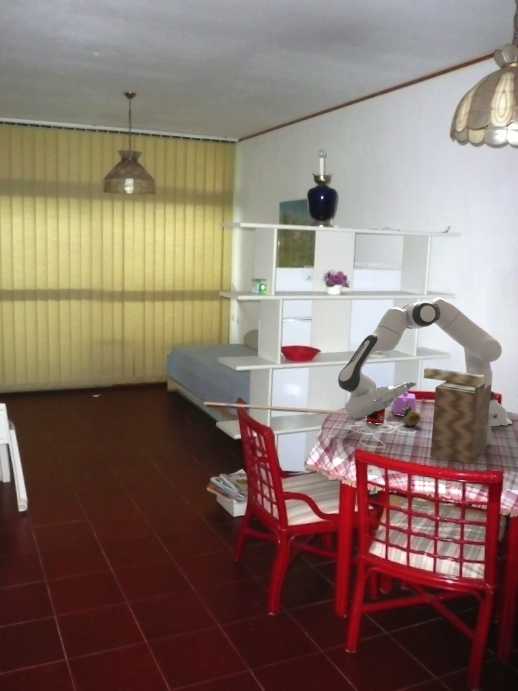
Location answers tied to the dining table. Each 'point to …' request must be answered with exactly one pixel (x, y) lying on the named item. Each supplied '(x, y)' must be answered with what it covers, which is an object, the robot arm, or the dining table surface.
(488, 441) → the salt shaker
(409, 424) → the onion
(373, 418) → the canned food
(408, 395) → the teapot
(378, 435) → the dining table surface
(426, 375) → the birch rod
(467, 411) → the walnut shelf
